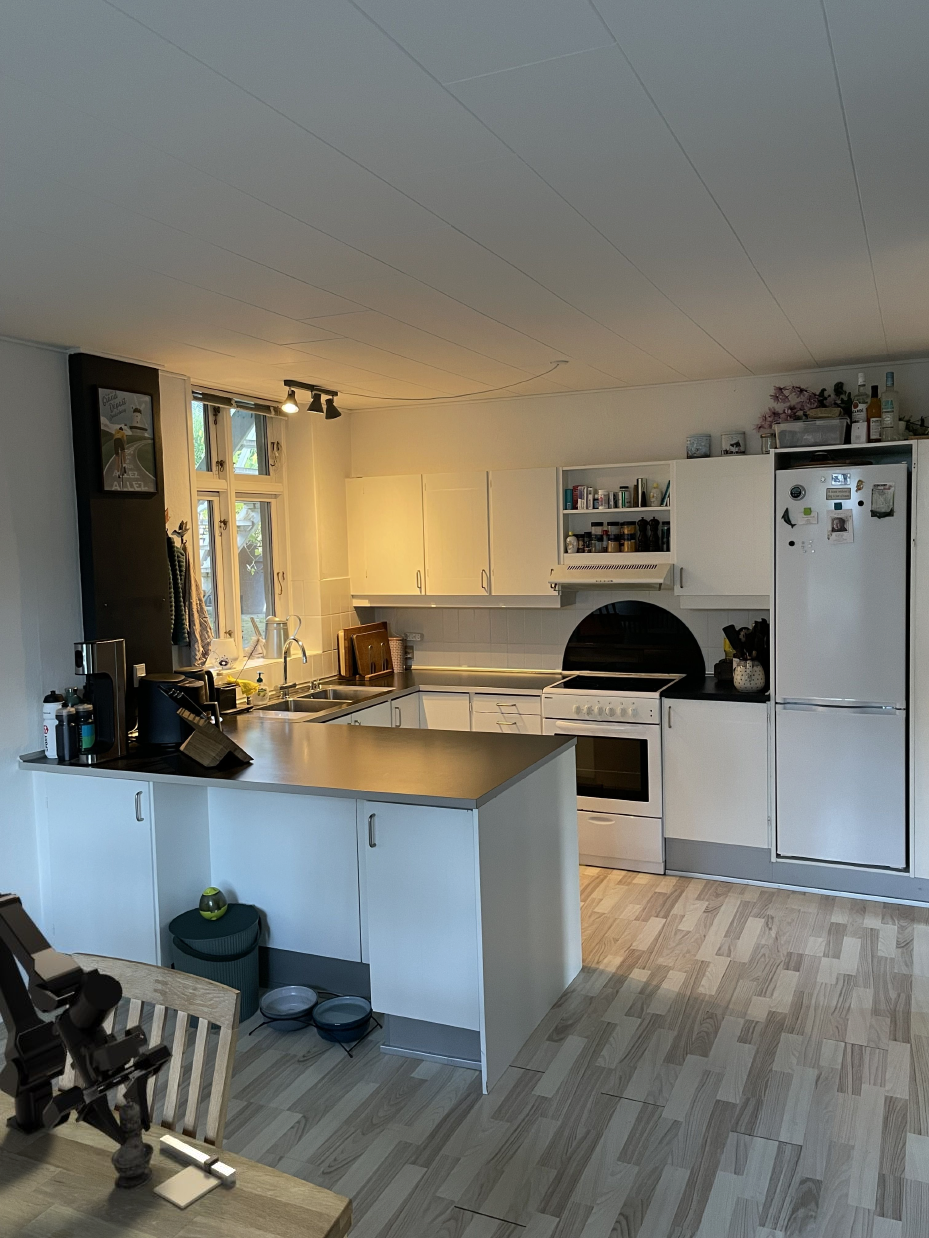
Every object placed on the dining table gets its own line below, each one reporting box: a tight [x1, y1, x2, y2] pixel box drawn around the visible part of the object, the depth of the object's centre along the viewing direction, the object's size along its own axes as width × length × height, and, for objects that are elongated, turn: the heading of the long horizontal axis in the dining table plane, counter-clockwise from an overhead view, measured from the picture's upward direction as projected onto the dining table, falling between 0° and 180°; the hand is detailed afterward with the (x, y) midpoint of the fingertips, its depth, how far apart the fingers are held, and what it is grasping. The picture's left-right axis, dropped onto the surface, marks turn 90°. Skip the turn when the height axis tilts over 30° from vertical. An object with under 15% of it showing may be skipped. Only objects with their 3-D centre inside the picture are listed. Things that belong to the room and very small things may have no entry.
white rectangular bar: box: [159, 1134, 237, 1186], centre depth 145 cm, size 16×2×2 cm, turn 53°
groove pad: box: [153, 1164, 222, 1209], centre depth 139 cm, size 7×7×1 cm
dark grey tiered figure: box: [110, 1098, 154, 1190], centre depth 142 cm, size 6×6×12 cm
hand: (136, 1137), depth 141 cm, fingers closed on dark grey tiered figure, 4 cm apart
